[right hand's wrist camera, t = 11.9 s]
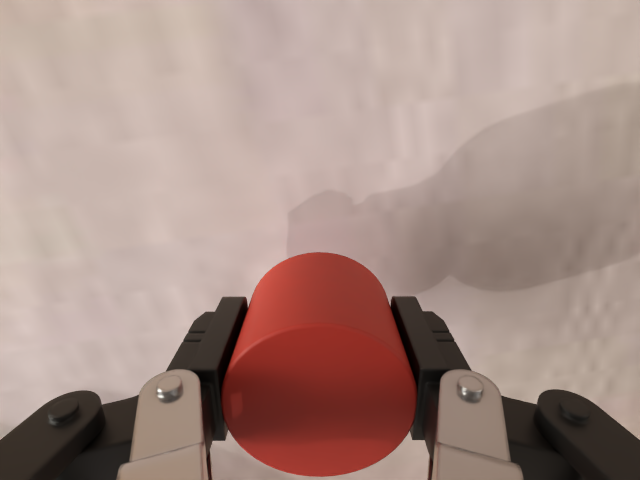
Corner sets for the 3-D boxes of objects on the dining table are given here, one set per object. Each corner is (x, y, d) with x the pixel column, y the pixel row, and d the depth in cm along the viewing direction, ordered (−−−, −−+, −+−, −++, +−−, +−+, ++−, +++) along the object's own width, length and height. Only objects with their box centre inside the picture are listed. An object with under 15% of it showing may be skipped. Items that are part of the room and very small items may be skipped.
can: (276, 230, 12) (254, 295, 8) (412, 279, 12) (455, 362, 8) (233, 347, 13) (197, 450, 9) (356, 385, 14) (369, 496, 10)
